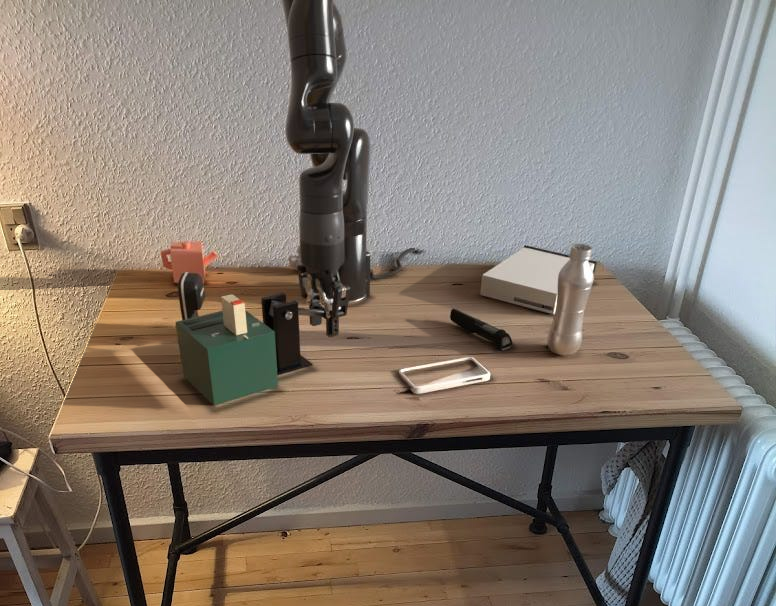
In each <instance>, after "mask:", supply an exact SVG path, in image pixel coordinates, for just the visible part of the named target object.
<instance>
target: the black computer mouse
mask: <svg viewBox="0 0 776 606" xmlns="http://www.w3.org/2000/svg"><path fill="white" fill-rule="evenodd" d="M203 282H204V281H203V279H202V277H201V275H200V274H198V273H188V272H186V273H183V274H182V275H181V277H180V279H179V281H178V282H177V283H178V284H177V294H178V301H179V308H180V315H181V320H185V319H190V318H194V317H198V316H200V315H199V313H198V311H200V310H201V309H202V308H203V304H204V302H205V298H206V290H205V285H204V283H203Z"/></svg>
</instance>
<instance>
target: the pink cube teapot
mask: <svg viewBox="0 0 776 606" xmlns="http://www.w3.org/2000/svg"><path fill="white" fill-rule="evenodd" d="M168 255H169V257H170V261H169V260H168ZM160 257H161V263H162V267H163V268H165V269H168V270H171V271H172V275H173V283H177V285H178V281H179V279H180V277H181V275H182V274H183V273H186V272H188V273H198V274H200V275H201V277H202V279H203V284H204V282H206V279H207V278H206V267H207V266H208V265H210V264H211V263H212V262H213V261H215V260H216V259H218V258H219V254H218V253H217V252H216V251H214V250H213V251H212V252H210V253H209V254H208V255H206V257H204V247H203V242H202V241H201V240H199V241H198V240H197V241H196V240H195V241H189V240H188V241H185V240H184V241H174V242H173V241H172V242H170V248H167V249H163V250H161V251H160Z"/></svg>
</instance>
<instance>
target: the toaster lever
mask: <svg viewBox="0 0 776 606" xmlns="http://www.w3.org/2000/svg"><path fill="white" fill-rule="evenodd" d="M282 303H286V302H284V301H273V300H272V301H271V305H270V310H269V314H270V315H271V316H273V306H274V305H278V304H282ZM298 313H299V316H306V317H309V316H316V317H322V319H325V320H326V317H327V316H326V312H325V307H324V306H323V305H322V306H316V308H315V309H309V308H304V307H298Z"/></svg>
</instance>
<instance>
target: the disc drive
mask: <svg viewBox="0 0 776 606" xmlns="http://www.w3.org/2000/svg"><path fill="white" fill-rule="evenodd" d="M569 260H570V258H569V254H565V253H560V252H557V251H552V250H548V249H543V248H539V247H535V246H530V245H526V244H525V245H523V248H521V249H520V250H518V251H517V252H515V253H513V254H512V255H510V256H508V257H507V258H506V259H504V260H503V261H502V262H500V263H498V264H496V265H495V266H493V267H492V268H491V269H489V270H487V271H486V272H484V273H483V274H482V275H481V284H480V285H481V286H480V294H479V295H480V296H482V297H486V298H491V299H494V300H498V301H502V302H506V303H508V304H513V305H517V306H521V307H524V308H527V309H531V310H535V311H539V312H543V313H545V314H546V313H547V314H550V315H554V314H555V311H556V304H557V293H558V274H559V272H560V270H561V269H562V267H563V266H564V265H565V264H566V263H567V262H568V261H569ZM588 262H589V264H590V266H591V268H592V271H593V274H594V275H595V273H596V267H597V264H598V263H597V262H598V261H595V260H591V259H590V260H588Z"/></svg>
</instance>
